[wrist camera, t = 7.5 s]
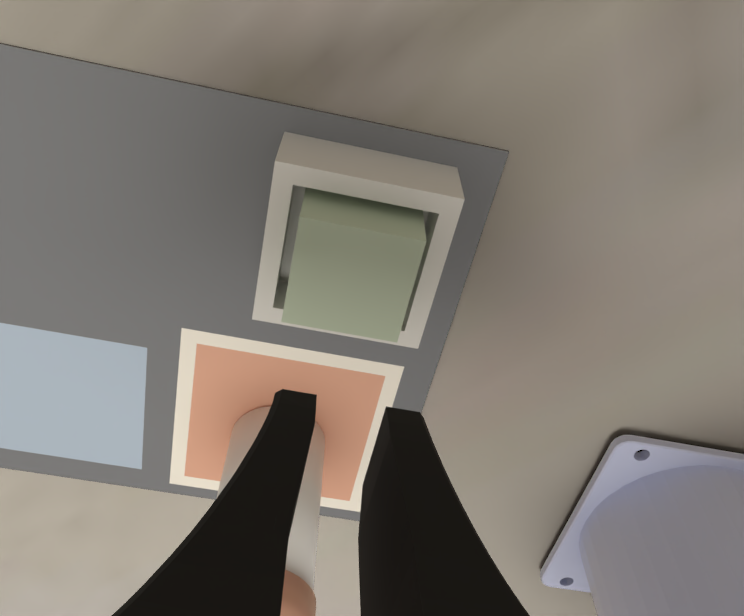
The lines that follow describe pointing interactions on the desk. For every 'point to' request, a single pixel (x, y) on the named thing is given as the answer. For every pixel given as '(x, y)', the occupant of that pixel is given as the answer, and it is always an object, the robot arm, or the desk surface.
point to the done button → (353, 265)
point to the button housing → (363, 180)
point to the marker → (305, 523)
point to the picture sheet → (179, 280)
